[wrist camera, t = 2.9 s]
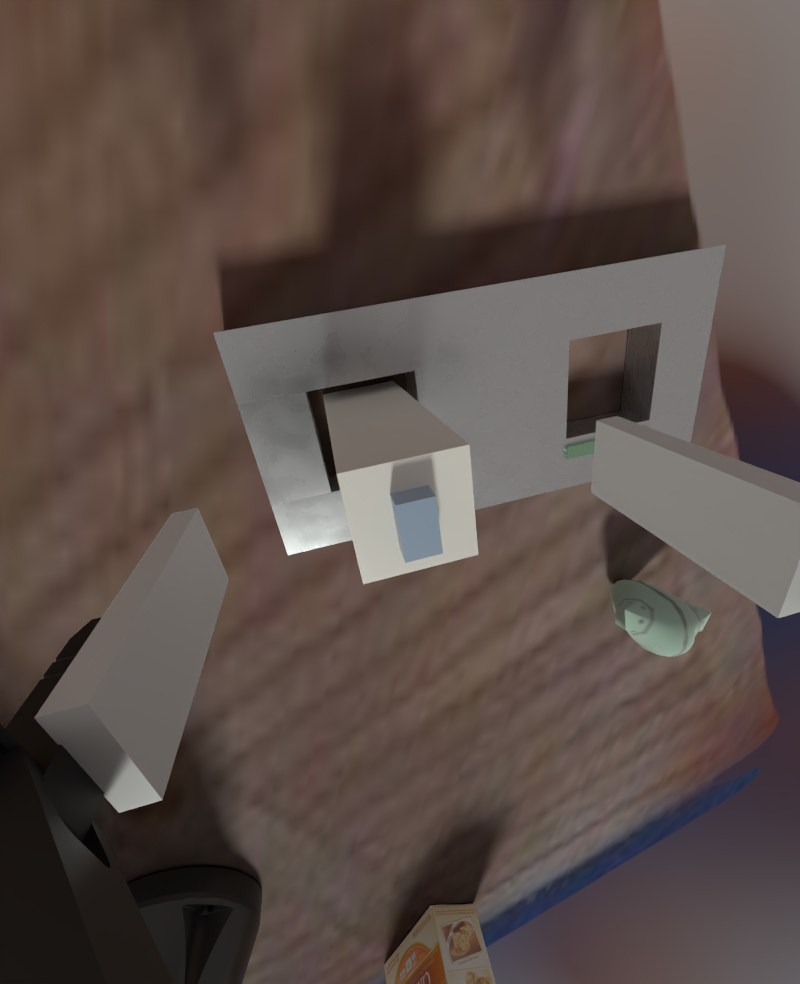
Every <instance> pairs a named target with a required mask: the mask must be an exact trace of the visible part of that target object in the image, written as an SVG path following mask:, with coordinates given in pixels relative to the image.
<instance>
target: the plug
mask: <svg viewBox="0 0 800 984" xmlns="http://www.w3.org/2000/svg"><path fill="white" fill-rule="evenodd" d="M323 399H324V405H325V410H326V416H327V422H328V428H329V434H330V439H331V445H332V451H333V457H334V463H335V469H336V474H337V478H338V482H339V487H340V491H341V495H342V499H343V503H344V507H345V511H346V515H347V519H348V523H349V528H350V532H351V536H352V540H353V544H354V548H355V552H356V556H357V560H358V564H359V569H360V573H361V577H362V581H363V584H366V583H370V582H374V581H378V580H382V579H386V578H390V577H393V576H397V575H401V574H405V573H409V572H413V571H417V570H421V569H425V568H428V567H432V566H436V565H440V564H444V563H448V562H452V561H456V560H459V559H463V558H467V557H471V556H475V555H478V545H477V533H476V520H475V508H474V495H473V482H472V470H471V457H470V445H469V444H468V443H467V442H466V441H465V440H464V439H462V438H461V437H460V436H459V435H458V434H456V433H455V432H454V431H453V430H452V429H450V428H449V427H448V426H447V425H446V424H444V423H443V422H442V421H441V420H440V419H438V418H437V417H436V416H435V415H433V414H432V413H431V412H430V411H429V410H427V409H426V408H425V407H424V406H423V405H421V404H420V403H419V402H418V401H417V400H415V399H414V398H413V397H412V396H411V395H409V394H408V393H407V392H406V391H405V390H403V389H402V388H401V387H400V386H399V385H397V384H396V383H395V382H394V381H389V382H384V383H379V384H374V385H369V386H364V387H359V388H354V389H348V390H343V391H338V392H333V393H328V394H323Z"/></svg>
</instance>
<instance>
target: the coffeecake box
mask: <svg viewBox="0 0 800 984" xmlns="http://www.w3.org/2000/svg"><path fill="white" fill-rule="evenodd" d="M384 967H385V975H386V983H387V984H496V983H495V979H494V975H493V972H492V968H491V965H490V961H489V957H488V954H487V950H486V947H485V943H484V939H483V935H482V932H481V928H480V925H479V921H478V917H477V913H476V910H475V905H474V904H473V903H472V904H456V905H431V906H430V907H429V908H428V909H427V910H426V912H425V913H424V914H423V916H422V917H421V918H420V919H419V921H418V922H417V923H416V925H415V926H414V927H413V929H412V930H411V931H410V932H409V934H408V935H407V936H406V938H405V939H404V940H403V941H402V943H401V944H400V945H399V946H398V948H397V949H396V950H395V951H394V953H393V954H392V955H391V957H390V958H389V959H388V960H387V962H386V963H385V964H384Z"/></svg>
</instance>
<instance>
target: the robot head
mask: <svg viewBox="0 0 800 984" xmlns="http://www.w3.org/2000/svg"><path fill="white" fill-rule="evenodd" d="M611 601H612V604H613V607H614V611H615V624H617V625H619V626H620V627H622V628H623V629H625V630H626V631H627V632H628V633H629V634H630V636H631V637H632V638H633V639H634V641H636V642H637V643H638V644H639V645H640V646H642V647H643V648H644V649H645V650H648V651H650V652H653V653H655V654H657V655H662V656H669V657H674V656H677V655H681V654H684V653H685V652H687V651H689V649H690V648H691V646H692V645H693V643H694V639H695V636H696V634H697V633H698V632H699V631H702V630H703V628H704V626H705V624H706V622H707V621H708V619H709V617H710V615H711V613H712V612H710V611H708V610H705V609H703V608H700V607H698V606H695V605H693V604H690V603H688V602H686V601H684V600H682V599H680V598H678V597H676V596H674V595H672V594H670V593H668V592H666V591H664V590H662V589H660V588H658V587H656V586H654V585H652V584H649V583H646V582H643V581H635V580H620V581H617V582H616V583H615V584H614V585H613V587H612V588H611Z"/></svg>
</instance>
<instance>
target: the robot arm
mask: <svg viewBox="0 0 800 984" xmlns="http://www.w3.org/2000/svg"><path fill="white" fill-rule="evenodd" d="M591 493H593V494H594V495H596V496H597V497H599V498H600V499H601V500H603V501H604V502H606V503H607V504H609V505H610V506H612V507H613V508H615V509H616V510H618V511H619V512H621V513H622V514H624V515H625V516H627V517H628V518H630V519H631V520H633V521H634V522H636V523H637V524H639V525H640V526H642V527H643V528H645V529H646V530H648V531H649V532H651V533H652V534H654V535H655V536H656V537H658V538H659V539H661V540H662V541H664V542H665V543H667V544H668V545H670V546H671V547H673V548H674V549H676V550H677V551H679V552H680V553H682V554H683V555H685V556H686V557H688V558H689V559H691V560H692V561H694V562H695V563H697V564H698V565H700V566H701V567H703V568H704V569H706V570H707V571H709V572H710V573H712V574H713V575H714V576H716V577H717V578H719V579H720V580H722V581H723V582H725V583H726V584H728V585H729V586H731V587H732V588H734V589H735V590H737V591H738V592H740V593H741V594H743V595H744V596H746V597H747V598H749V599H750V600H752V601H753V602H755V603H756V604H758V605H759V606H761V607H762V608H764V609H765V610H767V611H768V612H769V613H771V614H773V615H774V616H775V617H777V618H781V617H784V616H787V615H791V614H794V613H798V612H800V483H799V482H796V481H794V480H791V479H788V478H785V477H783V476H780V475H777V474H774V473H771V472H769V471H766V470H764V469H761V468H758V467H755V466H753V465H750V464H747V463H744V462H742V461H739V460H736V459H733V458H731V457H728V456H725V455H723V454H720V453H717V452H714V451H712V450H709V449H706V448H703V447H701V446H698V445H695V444H692V443H690V442H687V441H684V440H681V439H679V438H676V437H673V436H670V435H668V434H665V433H662V432H659V431H657V430H654V429H651V428H649V427H646V426H643V425H640V424H638V423H635V422H632V421H629V420H627V419H624V418H621V417H618V416H615V417H610V418H606V419H601V420H597V421H596V433H595V446H594V460H593V473H592V487H591ZM228 581H229V578H228V576H227V574H226V571H225V569H224V567H223V565H222V562H221V560H220V558H219V555H218V553H217V551H216V548H215V546H214V544H213V542H212V539H211V537H210V535H209V532H208V530H207V528H206V526H205V523H204V521H203V519H202V516H201V514H200V512H199V509H198V508H195V509H190V510H185V511H181V512H176V513H172V514H171V515H170V517H169V518H168V520H167V521H166V523H165V524H164V525H163V527H162V528H161V530H160V531H159V533H158V534H157V536H156V537H155V539H154V540H153V542H152V543H151V545H150V546H149V548H148V549H147V551H146V552H145V554H144V555H143V557H142V558H141V560H140V561H139V563H138V564H137V566H136V567H135V569H134V570H133V572H132V573H131V575H130V576H129V578H128V579H127V581H126V582H125V584H124V585H123V587H122V588H121V590H120V591H119V592H118V594H117V595H116V597H115V598H114V600H113V601H112V603H111V604H110V606H109V607H108V609H107V610H106V612H105V613H104V615H103V616H102V617H101V618H97V619H93V620H91V621H90V622H89V623H88V624H86V625H85V626H84V627H83V628H82V629H81V630H80V631H79V632H77V633H76V634H75V635H74V636H73V637H72V638H71V639H70V640H69V641H68V643H67V644H66V645H65V647H64V648H63V650H62V651H61V652H60V654H59V655H58V656H57V658H56V662H54V663H52V665H51V666H50V667H49V669H48V670H47V672H46V673H45V674H44V679H42V680H40V681H39V683H38V684H37V685H36V687H35V688H34V690H33V691H32V692H31V694H30V695H29V697H28V698H27V699H26V701H25V702H24V703H23V705H22V706H21V708H20V709H19V710H18V712H17V713H16V715H15V716H14V717H13V719H12V720H11V721H10V723H9V724H8V726H7V727H6V728H5V729H4V728H3V727H2V726H1V724H0V984H242V982H243V979H244V975H245V972H246V969H247V966H248V962H249V959H250V956H251V953H252V949H253V946H254V943H255V940H256V936H257V933H258V930H259V925H260V915H261V903H262V892H261V889H260V887H259V885H258V884H257V882H256V881H255V880H253V879H252V878H251V877H249V876H247V875H245V874H243V873H241V872H238V871H234V870H230V869H225V868H217V867H189V868H180V869H174V870H169V871H164V872H160V873H156V874H153V875H149V876H146V877H143V878H141V879H138V880H135V881H133V882H131V883H129V884H127V882H126V880H125V878H124V876H123V874H122V872H121V870H120V867H119V865H118V863H117V861H116V859H115V857H114V855H113V853H112V850H111V848H110V846H109V844H108V842H107V840H106V838H105V835H104V833H103V831H102V829H101V828H100V827H99V826H98V825H97V824H96V823H95V822H94V821H93V819H94V817H95V814H96V812H97V810H98V807H99V805H100V803H101V800H102V798H103V796H104V797H105V798H106V799H107V800H108V801H109V802H110V804H111V805H112V806H113V807H114V808H115V809H116V810H117V811H118V812H119V813H121V812H124V811H128V810H131V809H134V808H138V807H141V806H145V805H148V804H151V803H155V802H158V801H162V800H163V797H164V794H165V790H166V787H167V784H168V780H169V777H170V774H171V771H172V767H173V764H174V761H175V757H176V754H177V751H178V747H179V744H180V741H181V737H182V734H183V731H184V727H185V724H186V721H187V717H188V714H189V711H190V707H191V704H192V701H193V697H194V694H195V691H196V688H197V684H198V681H199V678H200V674H201V671H202V668H203V664H204V661H205V658H206V654H207V651H208V648H209V644H210V641H211V638H212V634H213V631H214V628H215V624H216V621H217V618H218V615H219V611H220V608H221V605H222V601H223V598H224V595H225V591H226V588H227V585H228Z"/></svg>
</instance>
